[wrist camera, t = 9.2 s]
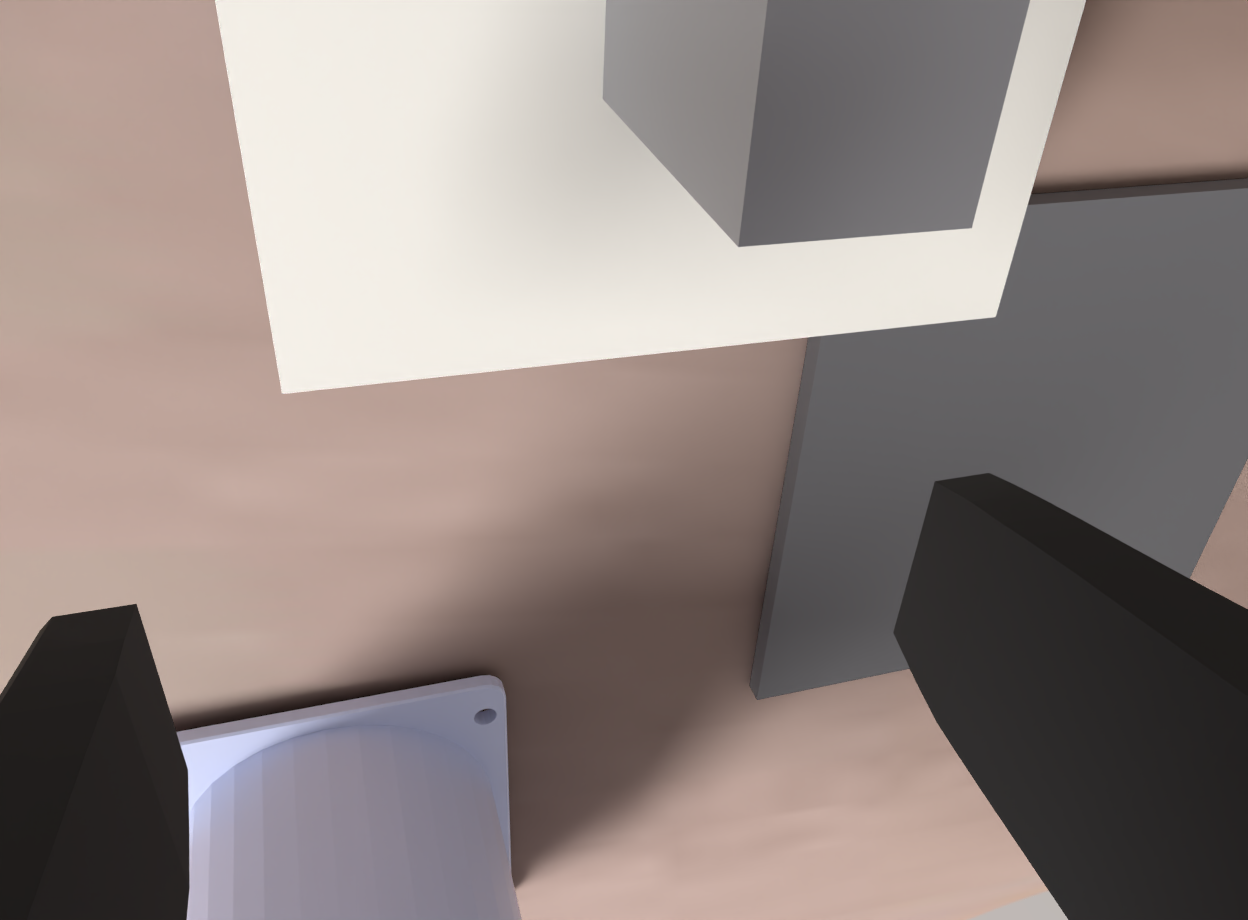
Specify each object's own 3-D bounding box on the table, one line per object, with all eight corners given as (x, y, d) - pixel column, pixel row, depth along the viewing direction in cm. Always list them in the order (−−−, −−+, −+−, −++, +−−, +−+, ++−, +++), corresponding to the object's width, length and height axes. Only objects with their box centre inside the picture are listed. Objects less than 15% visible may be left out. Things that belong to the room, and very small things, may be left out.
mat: (1159, 602, 30) (1171, 614, 30) (749, 685, 27) (757, 699, 26) (1364, 169, 23) (1384, 177, 22) (830, 208, 19) (842, 219, 19)
